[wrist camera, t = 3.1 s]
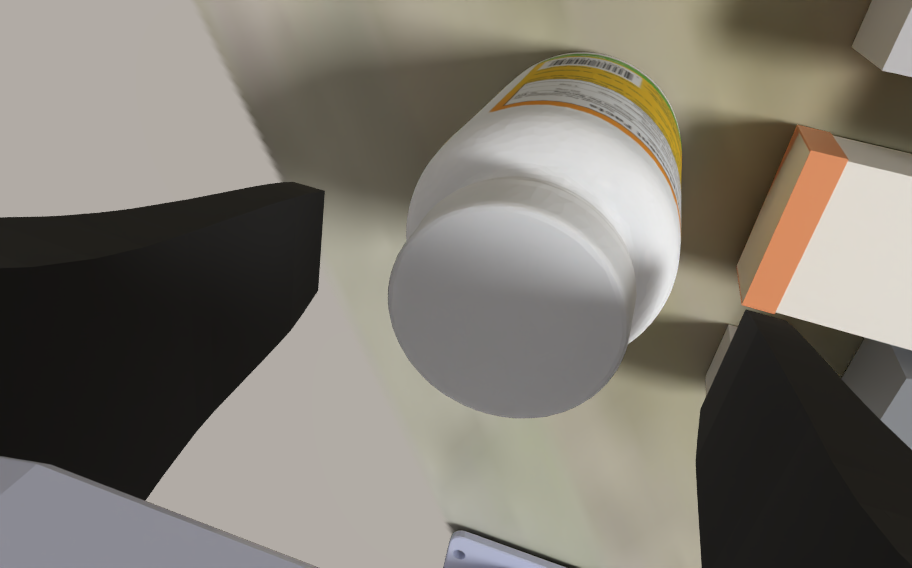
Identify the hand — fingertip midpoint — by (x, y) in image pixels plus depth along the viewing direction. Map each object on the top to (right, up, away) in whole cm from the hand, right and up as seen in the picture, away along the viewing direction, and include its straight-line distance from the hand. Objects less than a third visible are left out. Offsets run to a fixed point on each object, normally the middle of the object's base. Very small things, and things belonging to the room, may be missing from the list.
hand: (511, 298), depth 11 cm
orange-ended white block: (+11, +2, +6) cm, 12 cm away
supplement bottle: (+3, +4, +8) cm, 9 cm away
